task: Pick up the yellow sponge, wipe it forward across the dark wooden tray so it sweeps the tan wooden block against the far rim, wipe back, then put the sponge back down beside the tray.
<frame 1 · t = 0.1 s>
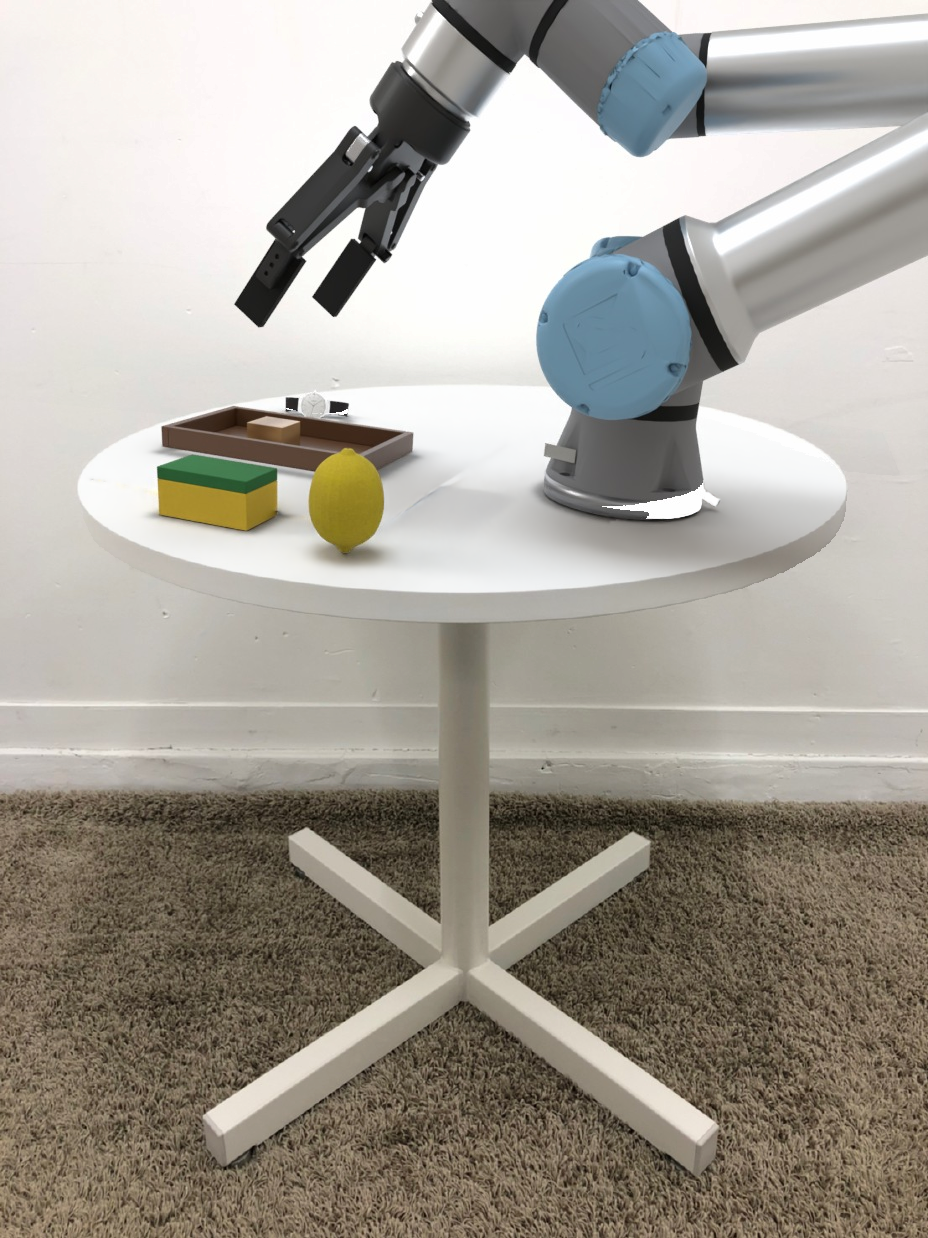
hand: (288, 311, 83), 15 cm above the table, tool tilted 35°, fingers open, 13 cm apart
watch: (316, 420, 117), on the table
tray: (291, 454, 100), on the table
tan wooden block: (273, 445, 100), point 1 cm above the table, touching tray
sponge: (219, 515, 79), on the table
lemon: (345, 555, 73), on the table
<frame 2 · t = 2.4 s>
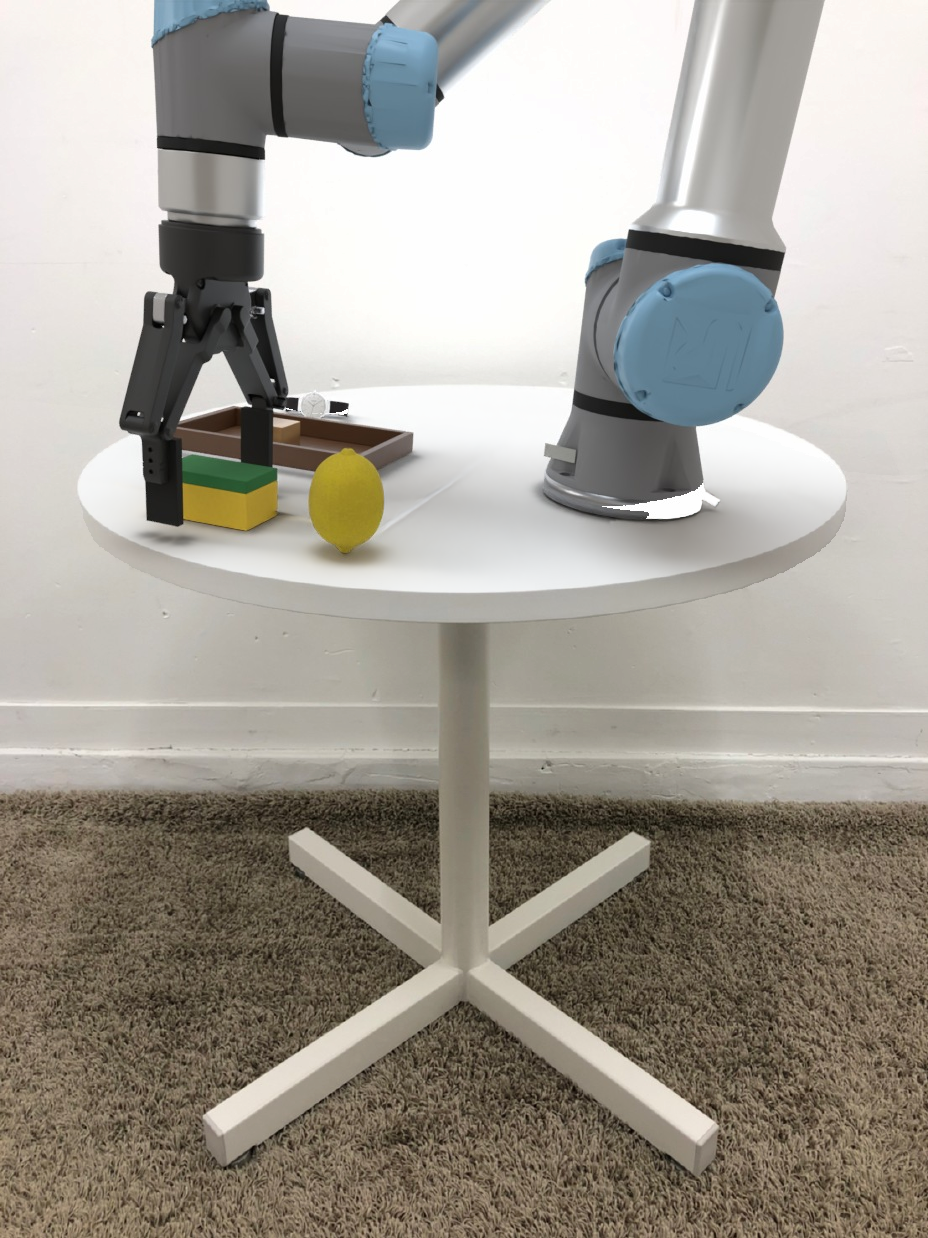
hand: (214, 502, 79), 1 cm above the table, tool pointing down, fingers open, 13 cm apart
nothing on the table moved.
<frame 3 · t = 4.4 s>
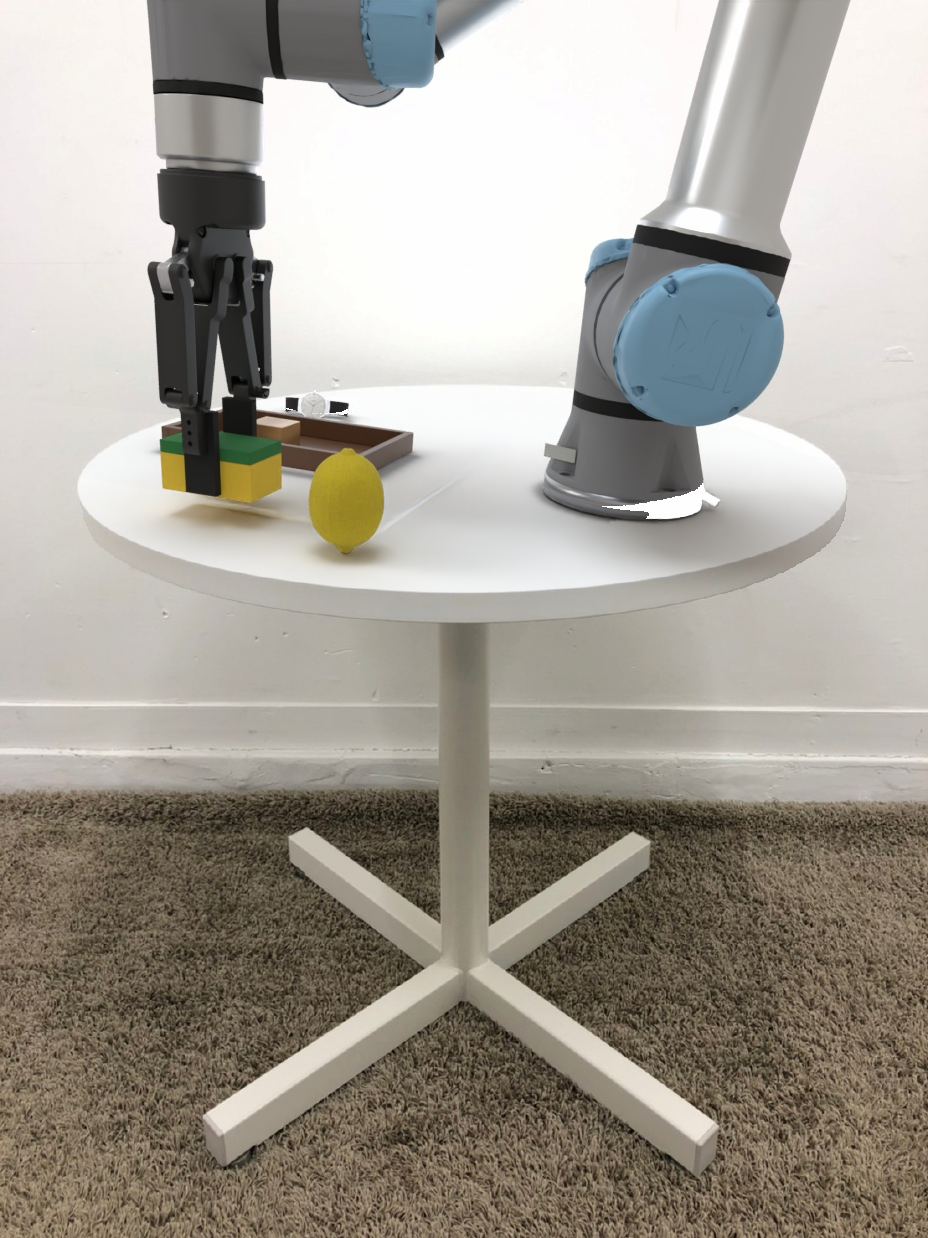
hand: (223, 484, 78), 3 cm above the table, tool pointing down, fingers closed on sponge, 5 cm apart
sponge: (222, 488, 78), point 2 cm above the table, touching gripper
everything else where it was.
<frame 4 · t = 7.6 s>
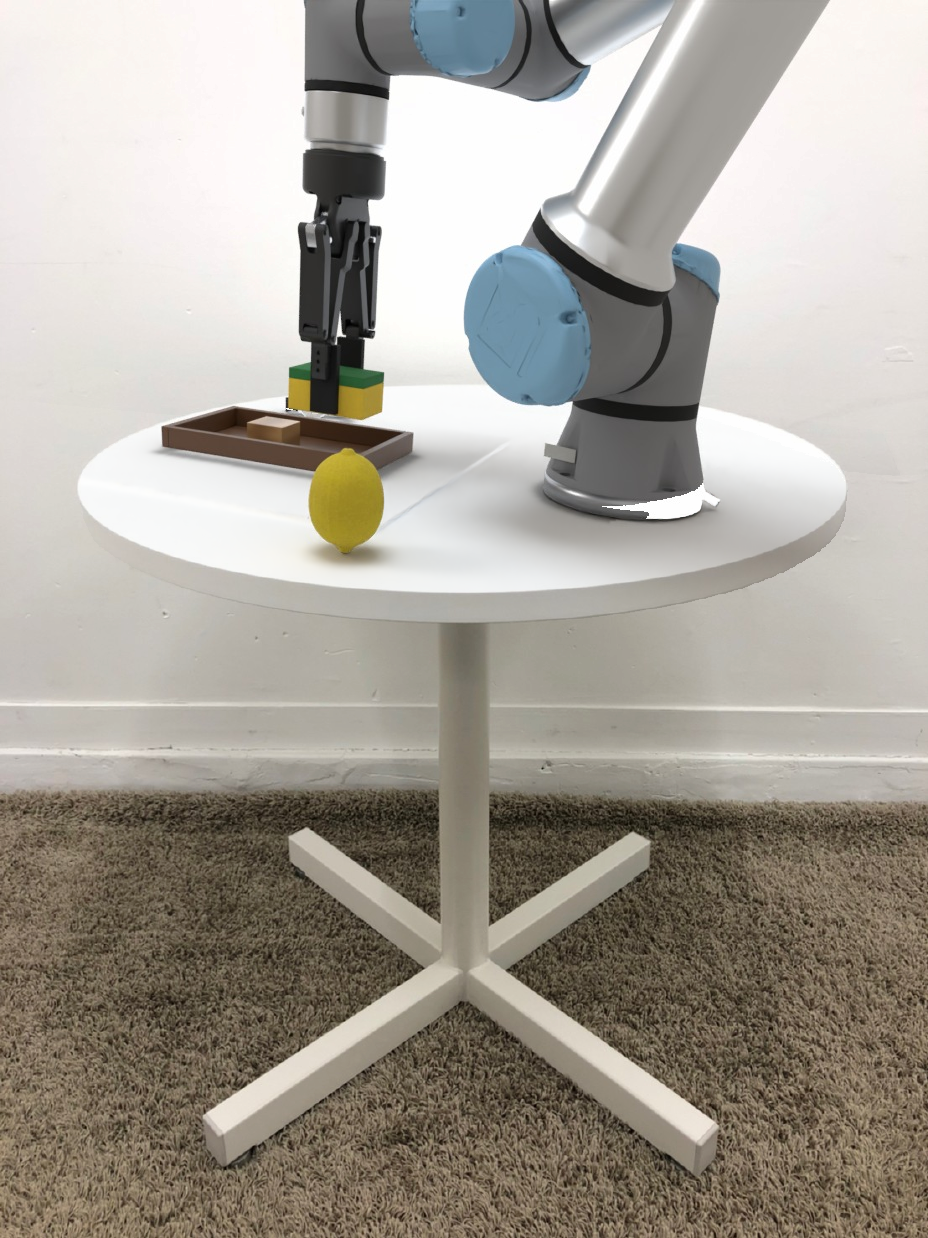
hand: (336, 407, 97), 5 cm above the table, tool pointing down, fingers closed on sponge, 5 cm apart
sponge: (335, 410, 97), point 5 cm above the table, touching gripper
everything else where it was.
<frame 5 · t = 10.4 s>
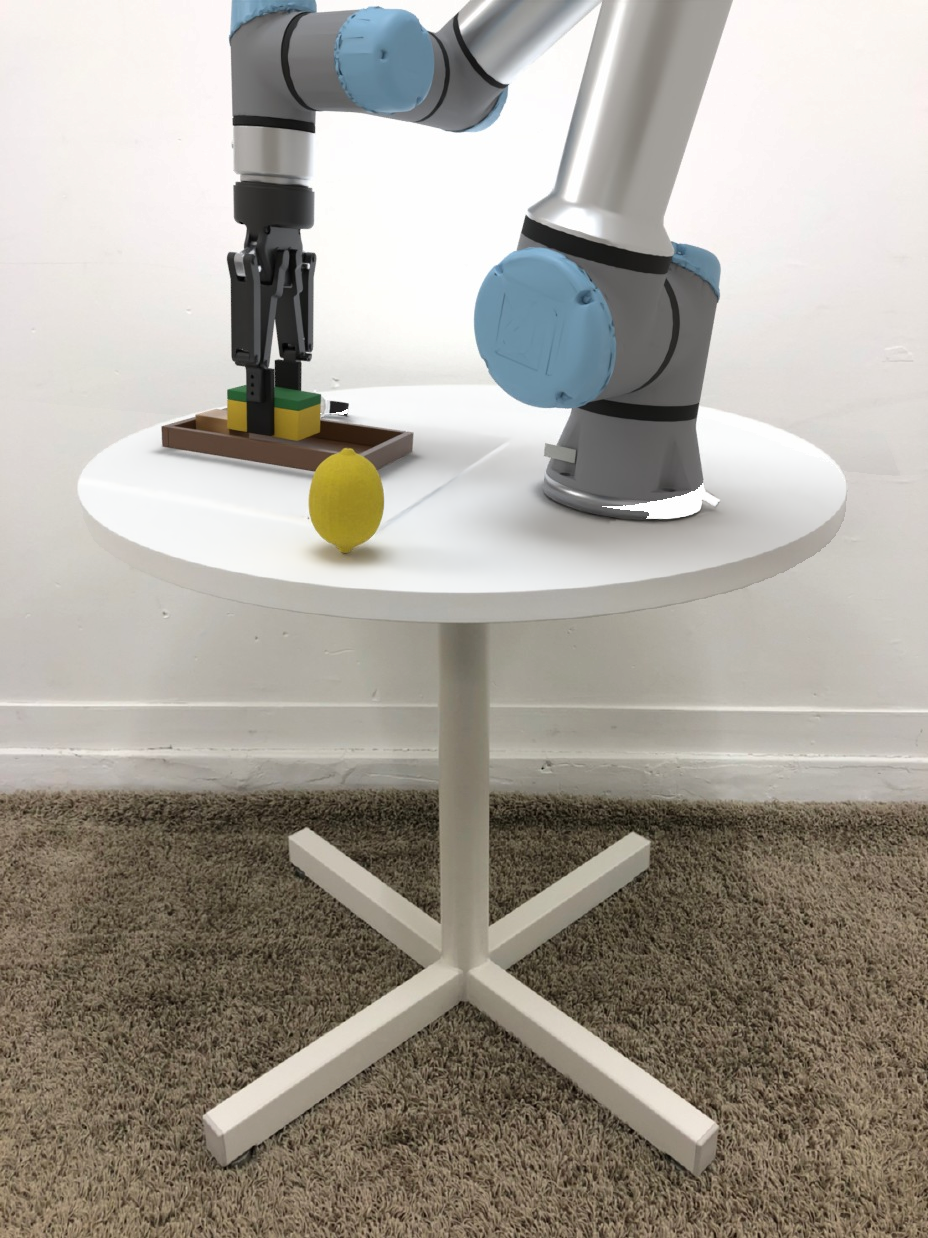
hand: (274, 428, 100), 2 cm above the table, tool pointing down, fingers closed on sponge, 5 cm apart
tan wooden block: (222, 437, 102), point 1 cm above the table, touching sponge, tray
sponge: (274, 430, 100), point 2 cm above the table, touching tan wooden block, gripper
everything else where it was.
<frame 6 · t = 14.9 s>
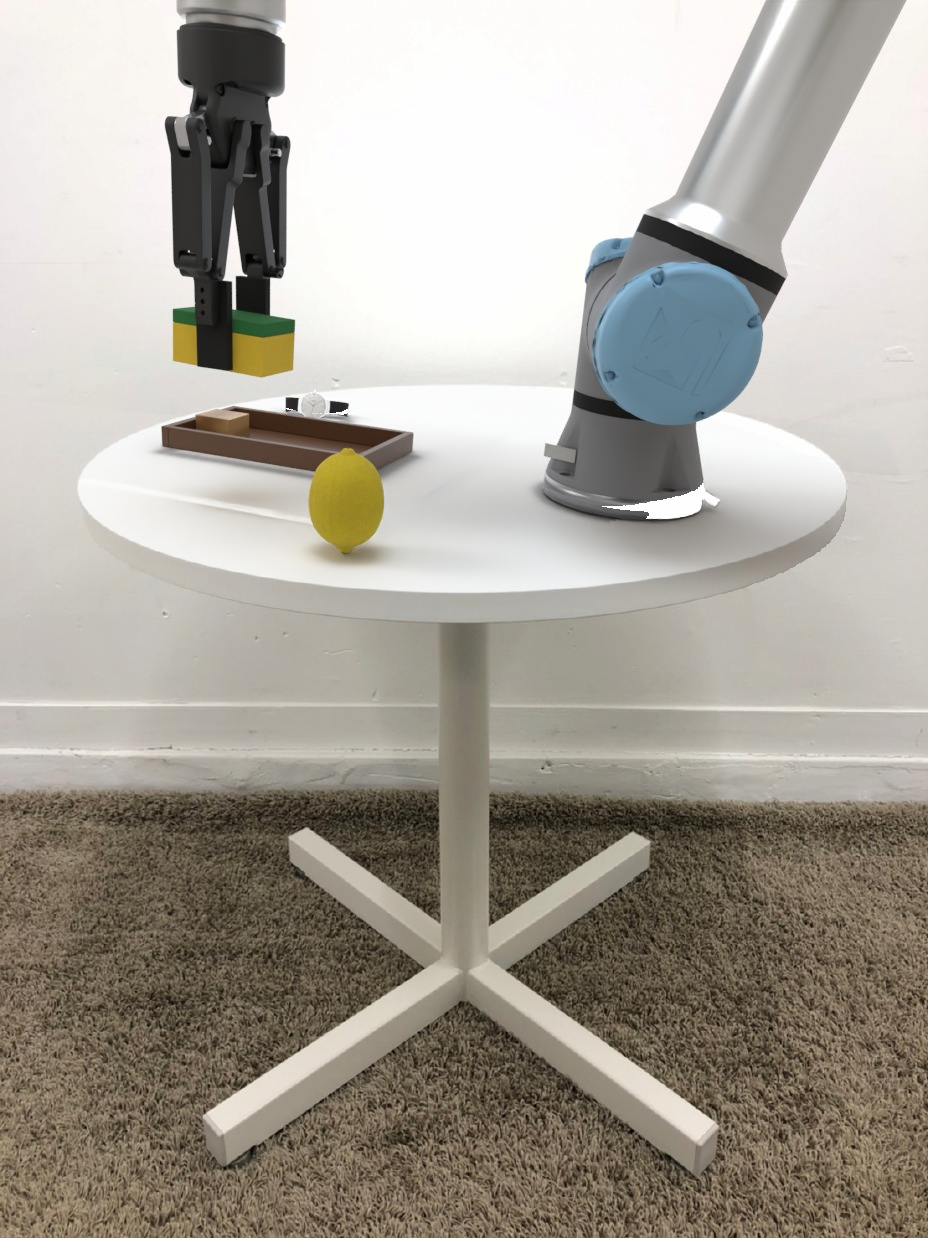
hand: (234, 363, 77), 12 cm above the table, tool pointing down, fingers closed on sponge, 5 cm apart
tan wooden block: (223, 437, 102), point 1 cm above the table, touching tray
sponge: (233, 365, 78), point 12 cm above the table, touching gripper
everything else where it was.
when the fingers open (0 cm above the table, at t = 18.2 s): sponge stays where it is, on the table.
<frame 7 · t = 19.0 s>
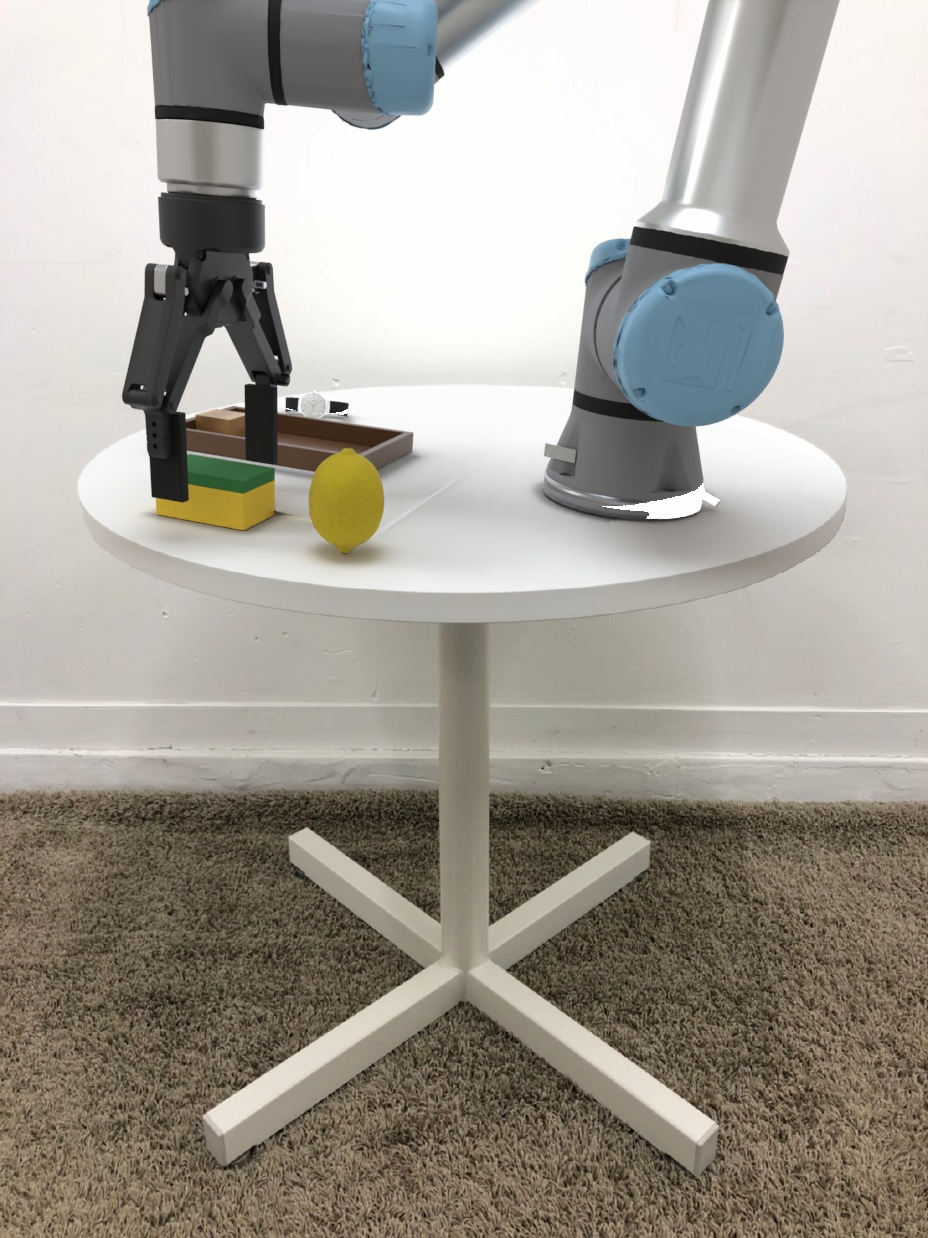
hand: (219, 479, 78), 3 cm above the table, tool pointing down, fingers open, 13 cm apart
sponge: (216, 514, 79), on the table
everything else where it was.
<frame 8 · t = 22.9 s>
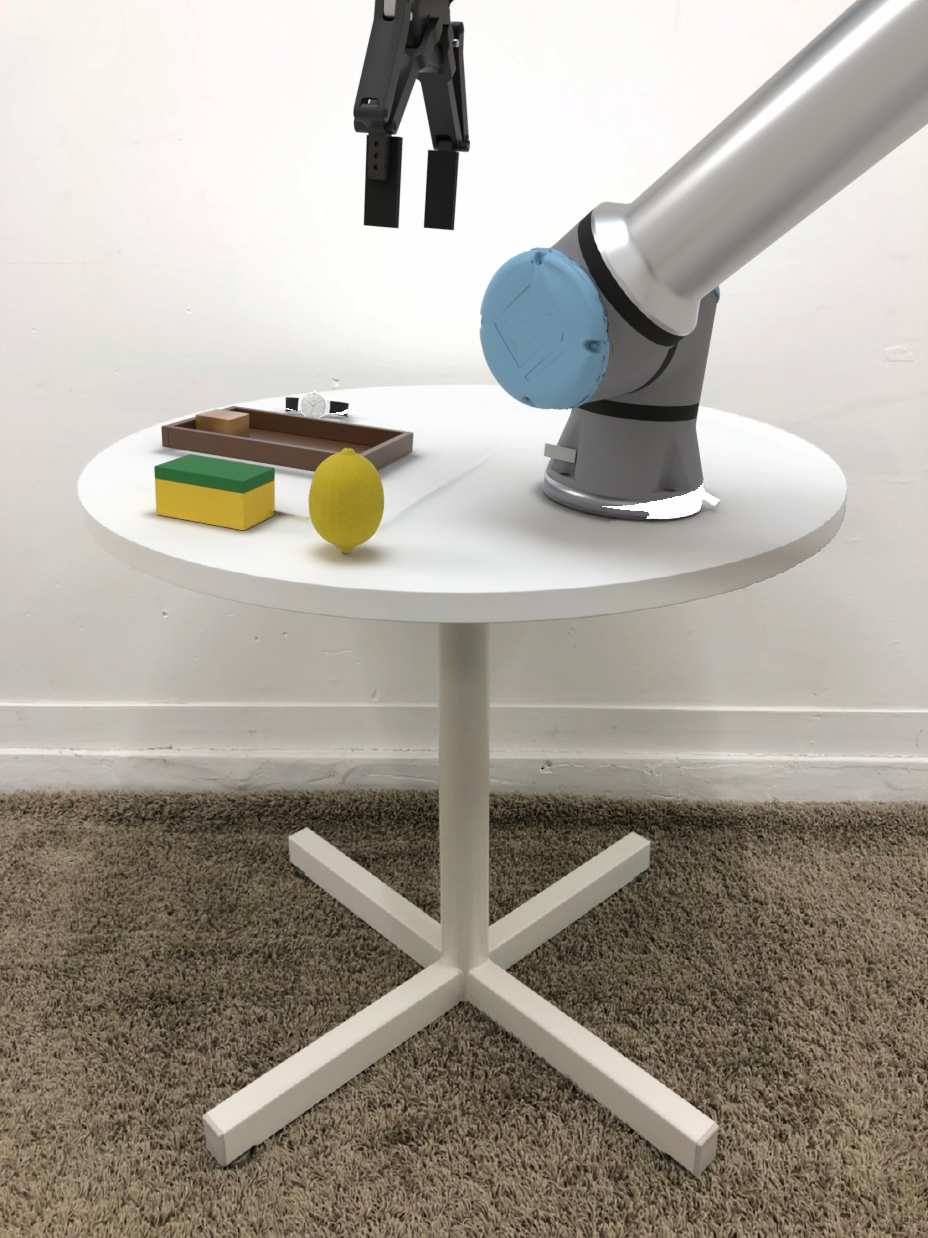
hand: (412, 228, 83), 23 cm above the table, tool pointing down, fingers open, 13 cm apart
nothing on the table moved.
at the end: tan wooden block inside the target area in the tray (0.8 cm from its centre), point 0.6 cm above the tray's base; sponge inside the target area (0.2 cm from its centre), on the table; the gripper is holding nothing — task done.
